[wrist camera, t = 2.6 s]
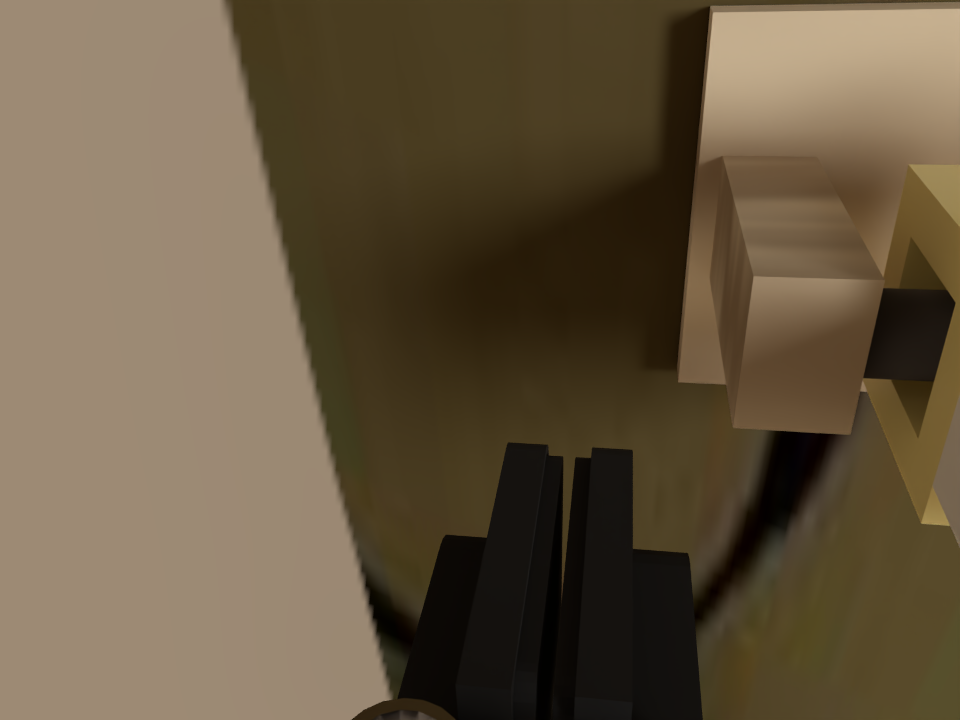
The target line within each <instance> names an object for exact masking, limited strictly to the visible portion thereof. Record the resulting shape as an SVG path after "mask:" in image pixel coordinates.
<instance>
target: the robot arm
mask: <svg viewBox="0 0 960 720" xmlns="http://www.w3.org/2000/svg"><path fill="white" fill-rule="evenodd" d="M562 520H563V456H549V451H548V445H541V444H524V443H508V444H507V447H506V452H505V456H504V461H503V466H502V470H501V475H500V480H499V484H498V489H497V494H496V498H495V503H494V508H493V512H492V517H491V521H490V526H489V531H488V535H487V538H482V537H469V536H456V535H445V537H444V538H443V540H442V543H441V546H440V549H439V552H438V556H437V560H436V563H435V567H434V570H433V574H432V577H431V581H430V585H429V588H428V592H427V595H426V599H425V602H424V606H423V610H422V613H421V617H420V620H419V624H418V627H417V631H416V634H415V638H414V642H413V645H412V649H411V652H410V656H409V659H408V663H407V667H406V670H405V674H404V677H403V681H402V684H401V688H400V692H399V695H398V699H394V700H389V701H383V702H381V703H378V704H376V705H374V706H372V707H369V708H367V709H365V710H363V711H362V712H361V713H359V714H358V715H357V716H356V717H355V718H353V719H352V720H551V715H552V705H553V720H703V718H702V705H701V693H700V681H699V668H698V656H697V644H696V631H695V619H694V607H693V595H692V582H691V570H690V561H689V556H688V553H679V552H666V551H653V550H639V549H633V451H632V450H625V449H609V448H592V456H591V458H579V457H576V458H575V468H574V479H573V489H572V499H571V510H570V520H569V531H568V541H567V552H566V562H565V572H564V583H563V593H562V604H561V591H562ZM553 694H554V695H553Z"/></svg>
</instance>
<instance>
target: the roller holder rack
mask: <svg viewBox="0 0 960 720" xmlns="http://www.w3.org/2000/svg"><path fill="white" fill-rule="evenodd" d="M908 164H915V165H960V2H924V3H863V4H801V5H740V6H710V15H709V26H708V36H707V47H706V58H705V69H704V80H703V91H702V102H701V113H700V123H699V134H698V145H697V156H696V167H695V178H694V189H693V200H692V210H691V221H690V232H689V243H688V254H687V265H686V276H685V286H684V297H683V308H682V319H681V330H680V341H679V352H678V363H677V371H678V382H687V383H707V384H726V387H727V394H728V400H729V406H730V413H731V419H732V426H733V428H743V429H760V430H778V431H795V432H812V433H829V434H847V435H850V434H851V430H852V425H853V421H854V416H855V412H856V407H857V403H858V398H859V394H860V391H865V392H867V390H866V387H865V385H864V382H863V378H868V379H888V380H909V381H930V382H934V380H935V376H936V373H937V369H938V366H939V362H940V358H941V355H942V351H943V347H944V344H945V340H946V337H947V333H948V329H949V326H950V322H951V319H952V315H953V311H954V308H955V304H956V302H955V301H954V299H953V298H952V296H951V295H950V293H949V292H948V290H930V289H899V288H883V287H884V283H885V279H884V278H883V276H884V272H885V267H886V263H887V258H888V254H889V249H890V245H891V240H892V236H893V231H894V227H895V222H896V218H897V213H898V209H899V204H900V200H901V195H902V191H903V187H904V182H905V178H906V173H907V169H908Z"/></svg>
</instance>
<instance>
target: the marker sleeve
mask: <svg viewBox="0 0 960 720" xmlns="http://www.w3.org/2000/svg"><path fill="white" fill-rule="evenodd" d="M883 278H884V279H885V283H884V287H883V288H899V289H930V290H948V292H949V293H950V295H951V296H952V298H953V299H954V301H955V302H956V304H955V308H954V311H953V315H952V319H951V322H950V326H949V329H948V333H947V337H946V340H945V344H944V347H943V351H942V355H941V358H940V362H939V366H938V369H937V373H936V376H935V380H934V382H930V381H909V380H888V379H868V378H863V382H864V385H865V387H866V390H867V392H868V395H869V397H870V400H871V402H872V404H873V407H874V409H875V412H876V414H877V417H878V419H879V422H880V424H881V426H882V429H883V431H884V434H885V436H886V439H887V441H888V444H889V446H890V448H891V451H892V453H893V456H894V458H895V461H896V463H897V466H898V468H899V470H900V473H901V475H902V478H903V480H904V483H905V485H906V488H907V490H908V492H909V495H910V497H911V500H912V502H913V505H914V507H915V510H916V512H917V515H918V517H919V519H920V522H921V524H935V525H948V526H951V528H952V531H953V533H954V535H955V537H956V540H957V542H958V544H959V546H960V165H915V164H908V169H907V173H906V178H905V182H904V187H903V191H902V195H901V200H900V204H899V209H898V213H897V218H896V222H895V227H894V231H893V236H892V240H891V245H890V249H889V254H888V258H887V263H886V267H885V272H884V276H883Z"/></svg>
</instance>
